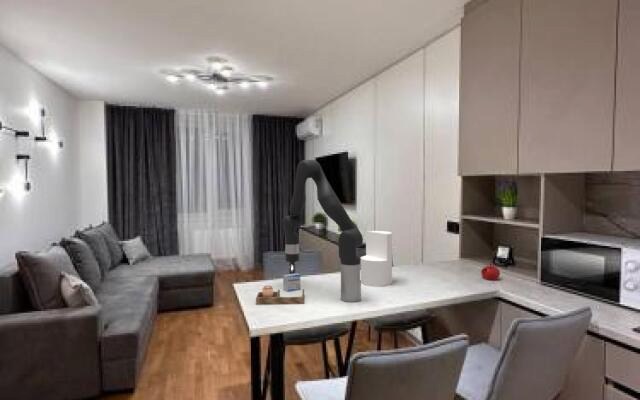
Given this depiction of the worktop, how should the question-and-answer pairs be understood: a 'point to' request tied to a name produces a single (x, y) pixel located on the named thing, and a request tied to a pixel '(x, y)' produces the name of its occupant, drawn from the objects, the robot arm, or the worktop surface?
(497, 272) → the pomegranate
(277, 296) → the caddy
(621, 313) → the worktop surface
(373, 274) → the white stepped solid
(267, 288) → the terracotta jar
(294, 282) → the medicine box
